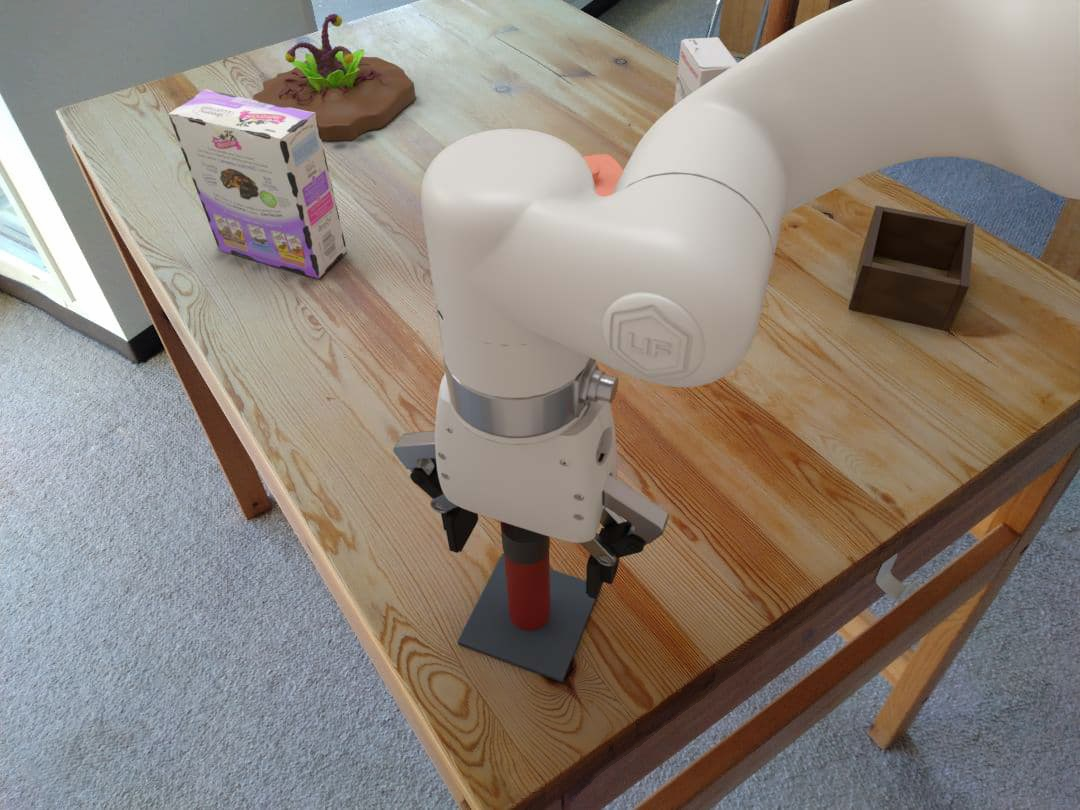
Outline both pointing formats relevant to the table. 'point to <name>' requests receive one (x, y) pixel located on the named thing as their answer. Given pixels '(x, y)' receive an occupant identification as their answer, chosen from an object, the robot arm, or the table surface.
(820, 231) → the table surface
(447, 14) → the table surface
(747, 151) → the robot arm
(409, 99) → the plant
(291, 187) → the candy box
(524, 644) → the desk pad
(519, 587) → the marker pen
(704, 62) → the ink box
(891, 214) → the wooden box
